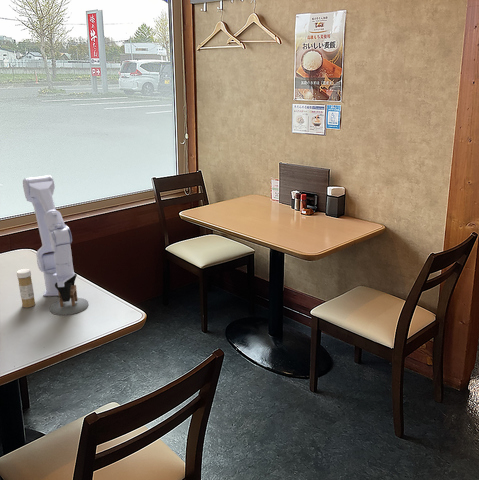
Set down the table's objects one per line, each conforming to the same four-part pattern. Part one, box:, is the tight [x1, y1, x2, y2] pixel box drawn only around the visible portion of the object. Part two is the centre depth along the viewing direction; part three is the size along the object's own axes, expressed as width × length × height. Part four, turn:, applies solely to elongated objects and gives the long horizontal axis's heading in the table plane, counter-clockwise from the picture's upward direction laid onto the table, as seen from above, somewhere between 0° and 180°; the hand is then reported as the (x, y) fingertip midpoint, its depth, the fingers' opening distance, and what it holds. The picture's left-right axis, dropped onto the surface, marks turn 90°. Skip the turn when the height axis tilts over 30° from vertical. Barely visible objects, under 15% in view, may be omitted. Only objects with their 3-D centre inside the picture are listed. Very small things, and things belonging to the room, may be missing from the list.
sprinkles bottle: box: [16, 268, 36, 308], centre depth 181 cm, size 5×5×14 cm
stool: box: [58, 284, 78, 307], centre depth 180 cm, size 5×5×6 cm
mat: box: [49, 297, 89, 316], centre depth 181 cm, size 13×13×1 cm
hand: (68, 297), depth 180 cm, fingers closed on stool, 5 cm apart
